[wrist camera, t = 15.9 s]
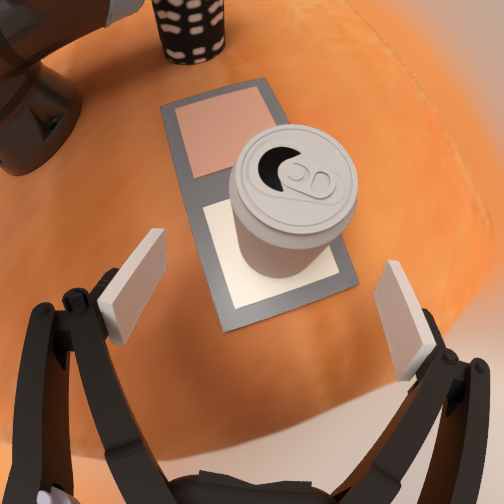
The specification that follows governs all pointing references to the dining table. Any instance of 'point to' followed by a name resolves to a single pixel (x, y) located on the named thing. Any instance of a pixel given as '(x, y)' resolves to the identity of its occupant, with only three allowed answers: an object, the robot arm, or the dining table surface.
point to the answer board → (220, 210)
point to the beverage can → (290, 197)
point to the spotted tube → (190, 29)
